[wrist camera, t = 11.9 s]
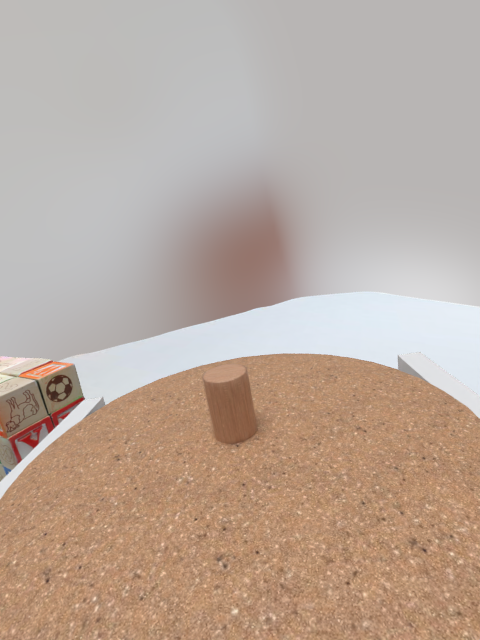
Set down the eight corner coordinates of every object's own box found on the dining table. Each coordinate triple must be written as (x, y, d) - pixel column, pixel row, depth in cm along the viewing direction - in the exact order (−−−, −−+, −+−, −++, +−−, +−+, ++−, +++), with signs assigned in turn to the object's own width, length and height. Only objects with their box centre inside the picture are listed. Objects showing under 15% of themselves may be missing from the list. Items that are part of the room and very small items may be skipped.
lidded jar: (154, 530, 15) (99, 337, 13) (393, 502, 15) (378, 292, 12) (-44, 1150, 5) (-478, 735, 3) (744, 1165, 4) (1059, 607, 2)
